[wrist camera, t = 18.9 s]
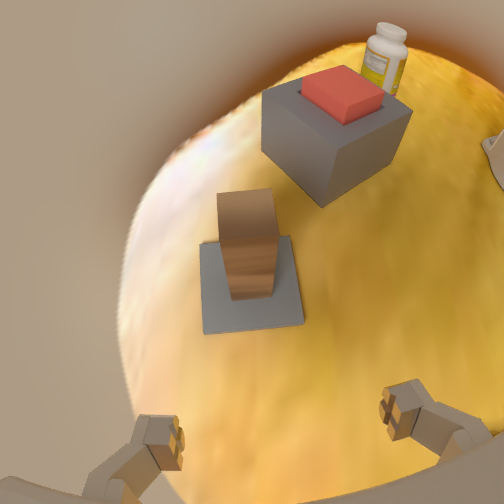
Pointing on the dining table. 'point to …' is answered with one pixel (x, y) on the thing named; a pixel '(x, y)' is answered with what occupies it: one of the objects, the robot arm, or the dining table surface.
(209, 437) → the dining table surface
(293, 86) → the gray socket block
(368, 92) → the button
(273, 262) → the brown wooden block
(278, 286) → the pad
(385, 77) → the supplement bottle
